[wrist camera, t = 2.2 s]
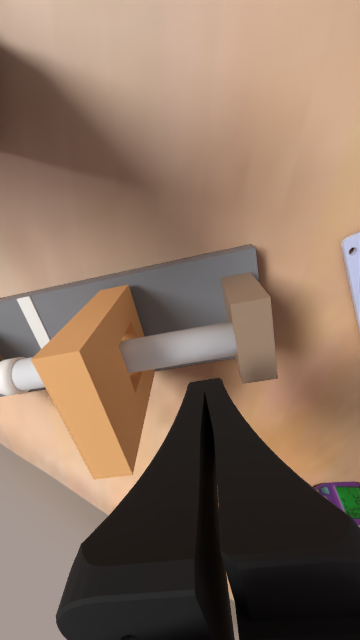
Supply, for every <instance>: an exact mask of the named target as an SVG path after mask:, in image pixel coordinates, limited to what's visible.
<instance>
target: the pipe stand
mask: <svg viewBox="0 0 360 640" xmlns="http://www.w3.org/2000/svg"><path fill="white" fill-rule="evenodd" d="M123 285H129V288H130V291H131V294H132V298H133V301H134V304H135V307H136V310H137V314H138V317H139V320H140V323H141V327H142V330H143V333H144V336H145V337H140V338H135V339H129V340H124V341H121V342H120V344H119V349H120V352H121V354H122V357H123V360H124V363H125V365H126V368H127V371H128V373H133V372H140V371H146V370H152V369H155V371H160V370H166V369H172V368H178V367H184V366H191V365H197V364H203V363H209V362H215V361H221V360H227V359H233V358H236V362H237V365H238V369H239V373H240V376H241V380H242V384H244V383H250V382H257V381H263V380H270V379H277V378H278V375H277V364H276V353H275V341H274V330H273V319H272V308H271V297H270V296H269V294H268V293H267V292H266V291H265V289H264V288H263V287H262V286H261V285H260V283H259V276H258V266H257V257H256V248H255V247H254V246H253V245H251V244H249V245H245V246H240V247H235V248H231V249H226V250H221V251H217V252H212V253H207V254H203V255H198V256H194V257H189V258H184V259H180V260H175V261H170V262H166V263H161V264H156V265H152V266H147V267H143V268H138V269H133V270H129V271H124V272H119V273H115V274H110V275H105V276H101V277H96V278H92V279H87V280H82V281H78V282H73V283H68V284H64V285H59V286H54V287H50V288H45V289H41V290H36V291H31V292H27V293H22V294H17V295H13V296H8V297H3V298H0V397H2V396H9V395H15V394H21V393H26V392H32V391H38V390H44V389H46V388H45V386H44V384H43V382H42V380H41V378H40V376H39V374H38V372H37V370H36V369H35V367H34V365H33V363H32V361H31V359H32V358H33V357H34V356H35V355H36V354H37V353H38V352H39V351H40V350H41V349H42V348H43V347H44V346H45V345H46V344H47V343H48V342H49V341H50V340H51V339H52V338H53V337H54V336H55V335H56V334H57V333H58V332H59V331H60V330H61V329H62V328H63V327H64V326H65V325H66V324H67V323H68V322H69V321H70V320H71V319H72V318H73V317H74V316H75V315H76V314H77V313H78V312H79V311H80V310H81V309H82V308H83V307H84V306H85V305H86V304H87V303H88V302H89V301H90V300H91V299H92V298H93V297H94V296H95V295H96V294H97V293H98V292H99V291H100V290H104V289H109V288H114V287H119V286H123Z"/></svg>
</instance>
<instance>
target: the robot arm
mask: <svg viewBox="0 0 360 640" xmlns="http://www.w3.org/2000/svg"><path fill="white" fill-rule="evenodd" d="M341 248H342V253H343V258H344V262H345V267H346V272H347V277H348V281H349V286H350V291H351V295H352V300H353V305H354V310H355V314H356V319H357V324H358V328H359V333H360V232H357V233H355V234H352V235H350V236H348V237H346V238H344V240H343V241H342V243H341ZM351 248H354V251H353V253H351V254H349V250H350V249H351ZM217 485H218V489H217ZM218 503H219V507H218ZM226 573H227V576H228V580H229V583H230V587H231V590H232V594H233V597H234V601H235V607H236V615H237V624H238V633H239V640H360V527H359V526H358V525H357V523H356V522H355V521H354V520H353V518H352V517H351V516H349V515H348V514H347V513H345V512H344V511H342V510H341V509H340V508H338V507H337V506H336V505H334V504H333V503H332V502H330V501H329V500H328V499H326V498H325V497H324V496H323V495H321V494H320V493H319V492H318V491H316V490H315V489H314V488H313V487H311V486H310V485H309V484H308V483H307V482H305V481H304V480H303V479H302V478H301V477H300V476H298V475H297V474H296V473H295V472H294V471H293V470H292V469H291V468H290V467H289V466H287V465H286V464H285V463H284V462H283V461H282V460H281V459H280V458H279V457H278V456H277V455H276V454H275V453H274V452H273V451H272V450H271V449H270V448H269V447H268V446H267V445H266V444H265V443H264V442H263V441H262V440H261V438H260V437H259V436H258V435H257V434H256V433H255V432H254V430H253V429H252V428H251V427H250V425H249V424H248V423H247V422H246V420H245V419H244V418H243V416H242V415H241V414H240V412H239V411H238V409H237V408H236V406H235V405H234V403H233V402H232V400H231V398H230V397H229V395H228V393H227V391H226V389H225V387H224V385H223V382H222V379H220V378H215V379H209V380H203V381H196V382H190V383H189V385H188V387H187V391H186V394H185V397H184V399H183V402H182V405H181V407H180V409H179V412H178V414H177V416H176V419H175V421H174V423H173V425H172V427H171V429H170V431H169V433H168V435H167V437H166V438H165V440H164V442H163V444H162V445H161V447H160V449H159V451H158V452H157V454H156V455H155V457H154V458H153V460H152V462H151V463H150V464H149V466H148V467H147V469H146V470H145V472H144V473H143V474H142V476H141V477H140V479H139V480H138V481H137V483H136V484H135V485H134V486H133V488H132V489H131V490H130V491H129V493H128V494H127V495H126V496H125V497H124V499H123V500H122V501H121V502H120V503H119V505H118V506H117V507H116V508H115V509H114V510H113V512H112V513H111V514H110V515H109V516H108V517H107V518H106V519H105V520H104V521H103V522H102V523H101V524H100V525H99V526H98V527H97V529H95V531H94V532H93V533H92V534H91V535H90V536H89V537H88V538H87V539H86V540H85V541H84V542H83V543H82V544H81V546H80V548H79V551H78V554H77V556H76V558H75V560H74V563H73V565H72V568H71V571H70V574H69V577H68V580H67V583H66V586H65V589H64V592H63V596H62V599H61V602H60V605H59V608H58V611H57V614H56V623H57V626H58V628H59V630H60V631H61V633H62V634H63V636H64V637H65V638H66V639H67V640H235V639H234V631H233V623H232V616H231V608H230V600H229V592H228V584H227V576H226Z"/></svg>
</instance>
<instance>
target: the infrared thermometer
mask: <svg viewBox="0 0 360 640" xmlns="http://www.w3.org/2000/svg"><path fill="white" fill-rule="evenodd" d="M313 488H314V489H315V490H316V491H318V492H319V493H320V494H321V495H323V496H324V497H325V498H326V499H328V500H329V501H330V502H332V503H333V504H334V505H336V506H337V507H338V508H340V509H341V510H342V511H344V512H345V513H347V514H348V515H349V516H351V517H352V518H353V520H354V521H355V522H356V523H357V525H358V526H359V527H360V484H359V483H356V482H333V483H322V484H319V485H317V486H316V487H313Z"/></svg>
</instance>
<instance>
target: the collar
mask: <svg viewBox="0 0 360 640" xmlns="http://www.w3.org/2000/svg"><path fill="white" fill-rule="evenodd" d="M140 337H145V336H144V333H143V330H142V327H141V323H140V320H139V317H138V314H137V310H136V307H135V304H134V301H133V298H132V294H131V291H130V288H129V285H123V286H119V287H114V288H109V289H104V290H100V291H99V292H98V293H97V294H96V295H95V296H94V297H93V298H92V299H91V300H90V301H89V302H88V303H87V304H86V305H85V306H84V307H83V308H82V309H81V310H80V311H79V312H78V313H77V314H76V315H75V316H74V317H73V318H72V319H71V320H70V321H69V322H68V323H67V324H66V325H65V326H64V327H63V328H62V329H61V330H60V331H59V332H58V333H57V334H56V335H55V336H54V337H53V338H52V339H51V340H50V341H49V342H48V343H47V344H46V345H45V346H44V347H43V348H42V349H41V350H40V351H39V352H38V353H37V354H36V355H35V356H34V357H33V358H32V359H31V361H32V363H33V365H34V367H35V369H36V370H37V372H38V374H39V376H40V378H41V380H42V382H43V384H44V386H45V388H46V390H47V391H48V393H49V395H50V397H51V399H52V401H53V403H54V405H55V407H56V409H57V411H58V412H59V414H60V416H61V418H62V420H63V422H64V424H65V426H66V428H67V430H68V432H69V433H70V435H71V437H72V439H73V441H74V443H75V445H76V447H77V449H78V451H79V452H80V454H81V456H82V458H83V460H84V462H85V464H86V466H87V468H88V470H89V472H90V473H91V475H92V477H93V479H101V478H110V477H118V476H127V475H133V471H134V466H135V461H136V457H137V452H138V447H139V443H140V438H141V433H142V429H143V424H144V419H145V415H146V410H147V405H148V401H149V396H150V391H151V387H152V382H153V377H154V373H155V369H152V370H146V371H140V372H133V373H128V371H127V368H126V365H125V363H124V360H123V357H122V354H121V352H120V349H119V344H120V342H121V341H124V340H129V339H135V338H140Z"/></svg>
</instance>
